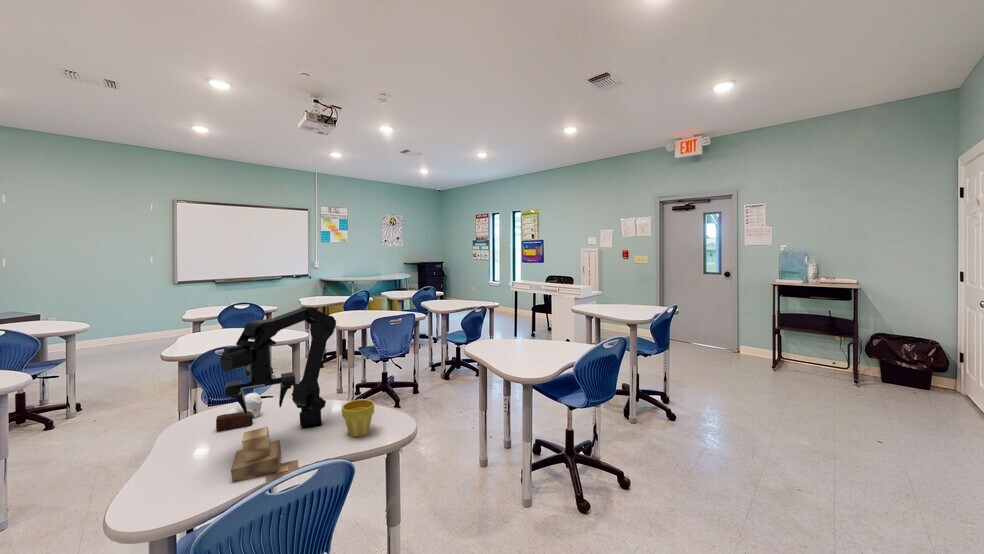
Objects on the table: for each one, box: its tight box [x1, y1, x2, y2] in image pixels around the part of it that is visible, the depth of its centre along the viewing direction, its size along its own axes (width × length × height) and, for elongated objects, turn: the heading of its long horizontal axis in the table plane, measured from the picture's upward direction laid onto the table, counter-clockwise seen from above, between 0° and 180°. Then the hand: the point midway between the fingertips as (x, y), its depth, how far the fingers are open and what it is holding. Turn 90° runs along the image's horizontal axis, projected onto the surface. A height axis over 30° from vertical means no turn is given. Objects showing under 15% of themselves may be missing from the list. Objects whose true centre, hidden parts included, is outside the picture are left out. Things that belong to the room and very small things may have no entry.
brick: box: [215, 411, 253, 433], centre depth 140 cm, size 11×4×5 cm, turn 119°
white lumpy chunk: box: [225, 392, 263, 419], centre depth 147 cm, size 6×8×12 cm
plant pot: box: [341, 398, 375, 438], centre depth 136 cm, size 10×10×10 cm
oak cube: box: [241, 426, 271, 462], centre depth 113 cm, size 6×6×6 cm
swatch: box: [265, 459, 299, 482], centre depth 112 cm, size 8×8×1 cm
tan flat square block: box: [230, 439, 282, 483], centre depth 114 cm, size 11×11×4 cm
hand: (263, 410), depth 125 cm, fingers open, 9 cm apart
